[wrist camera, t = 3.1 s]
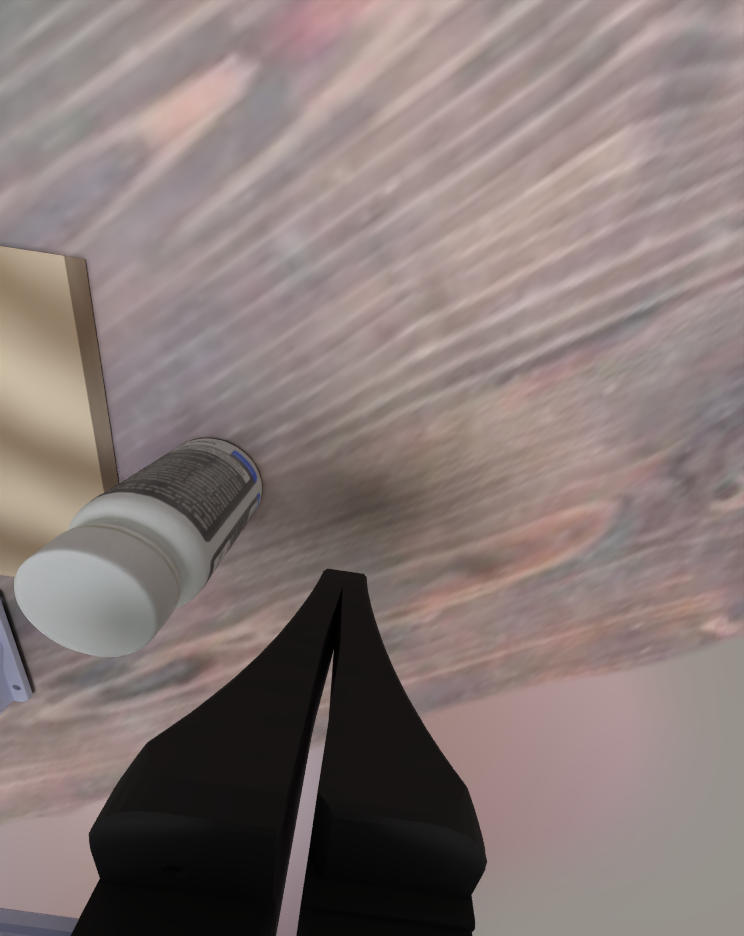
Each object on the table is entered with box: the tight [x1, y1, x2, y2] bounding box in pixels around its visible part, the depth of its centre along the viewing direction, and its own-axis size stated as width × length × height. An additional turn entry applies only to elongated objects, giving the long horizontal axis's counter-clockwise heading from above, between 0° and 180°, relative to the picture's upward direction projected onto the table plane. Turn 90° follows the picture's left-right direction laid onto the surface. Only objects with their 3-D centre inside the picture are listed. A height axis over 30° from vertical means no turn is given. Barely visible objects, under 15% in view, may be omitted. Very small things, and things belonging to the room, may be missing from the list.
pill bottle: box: [14, 438, 262, 657], centre depth 14 cm, size 5×5×8 cm
